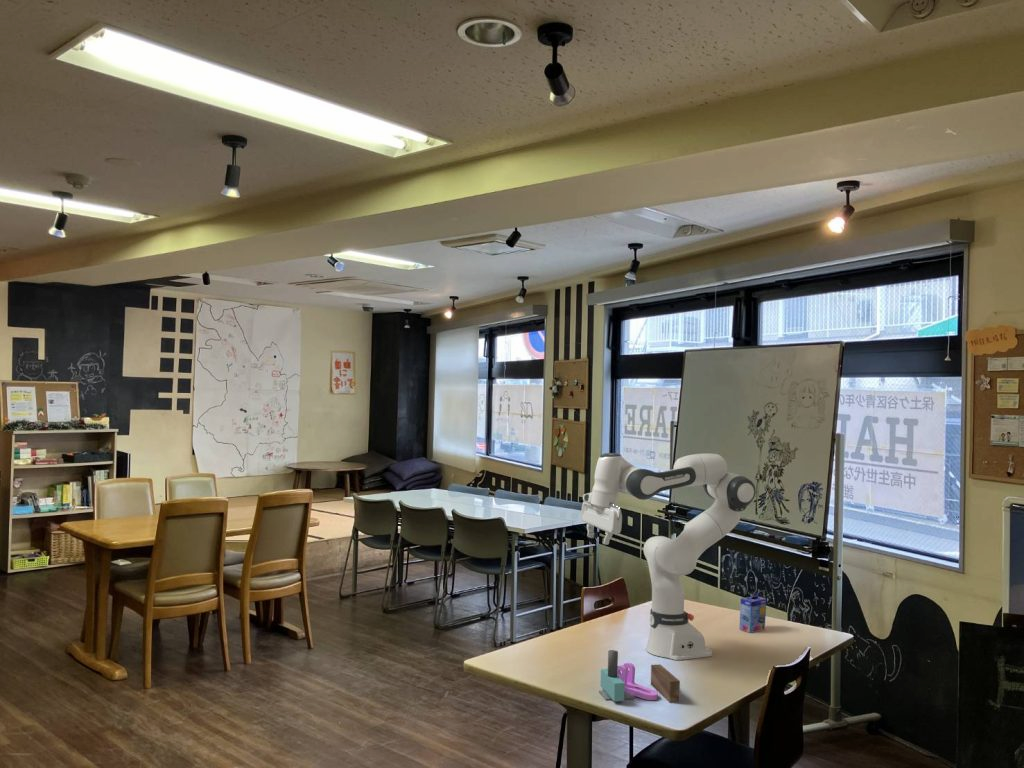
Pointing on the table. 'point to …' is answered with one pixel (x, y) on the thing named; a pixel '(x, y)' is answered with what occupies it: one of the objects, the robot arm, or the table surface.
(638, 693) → the bracket
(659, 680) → the base
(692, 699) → the table surface
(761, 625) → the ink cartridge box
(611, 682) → the clamp jaw
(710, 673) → the table surface
